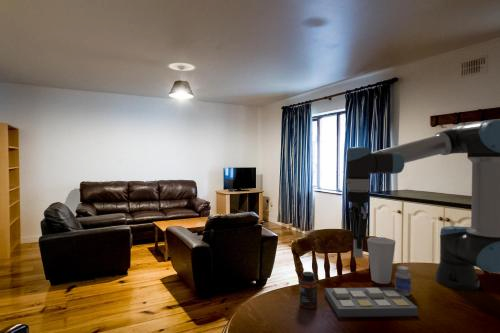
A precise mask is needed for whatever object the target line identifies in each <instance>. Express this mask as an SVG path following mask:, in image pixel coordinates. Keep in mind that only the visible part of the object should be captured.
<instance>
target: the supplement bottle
mask: <svg viewBox="0 0 500 333" xmlns="http://www.w3.org/2000/svg"><path fill="white" fill-rule="evenodd" d="M299 305H300V306H301V308H303V309H306V310H309V309H310V310H314V309H315V308H317V307H318V281H317V280H316V279H315V273H314V272H312V271H303V272H302V278H300V280H299Z"/></svg>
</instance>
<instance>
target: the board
mask: <svg viewBox="0 0 500 333" xmlns="http://www.w3.org/2000/svg"><path fill="white" fill-rule="evenodd" d="M333 288H334V287H333ZM333 288H332V287H328V288H327V287H325V288H324V292H325V293H324V294H325V298H326V299H327V300H328V302H329V304H330V306H331V308H332V309H333V311H334V312H335V314H336V315H337V317H338V318H355V317H356V318H362V317H363V318H364V317H366V318H367V317H417V316H419V308H418V306H416V305H415V304H414V303H413V302H412V301H410V300H409V299H408V298H407V296H403V295H402V294H401V293H400V292H399V291H397V290H396V289H395V286H394V287H392V286H391V287H378V288H379V289H380V290H381V291H382V290H394V291H395V292H397V293H398V294H399V295H400V298H387V297H386V296H385V295H384V294H383V298H369V296H368V295H367V294H366V288H367V287H344V288H345V289H346V290H347V291H348V293H349V291H362V292H363V293H364V294H365V295H366V298H352V297H351V295H350V294H349V298H344V299H336V298H335V297H334V295H333Z"/></svg>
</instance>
